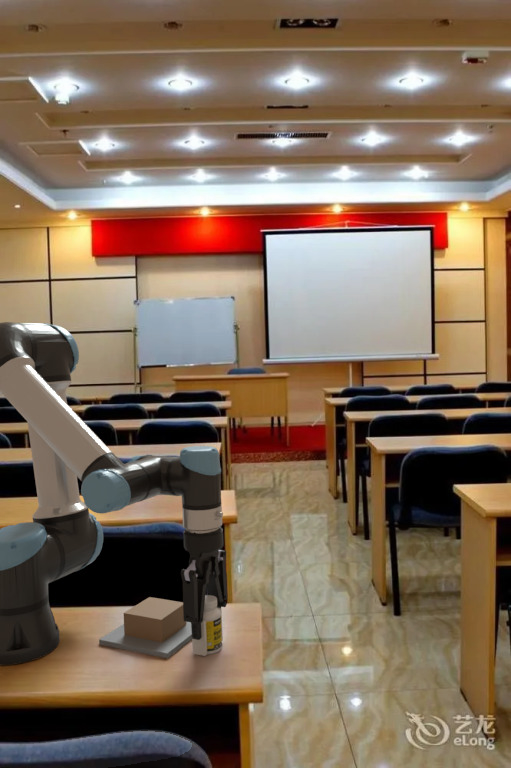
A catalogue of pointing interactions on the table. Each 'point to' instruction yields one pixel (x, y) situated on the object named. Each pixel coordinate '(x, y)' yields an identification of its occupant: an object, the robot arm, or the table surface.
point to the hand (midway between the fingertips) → (208, 646)
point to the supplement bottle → (212, 624)
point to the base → (148, 644)
